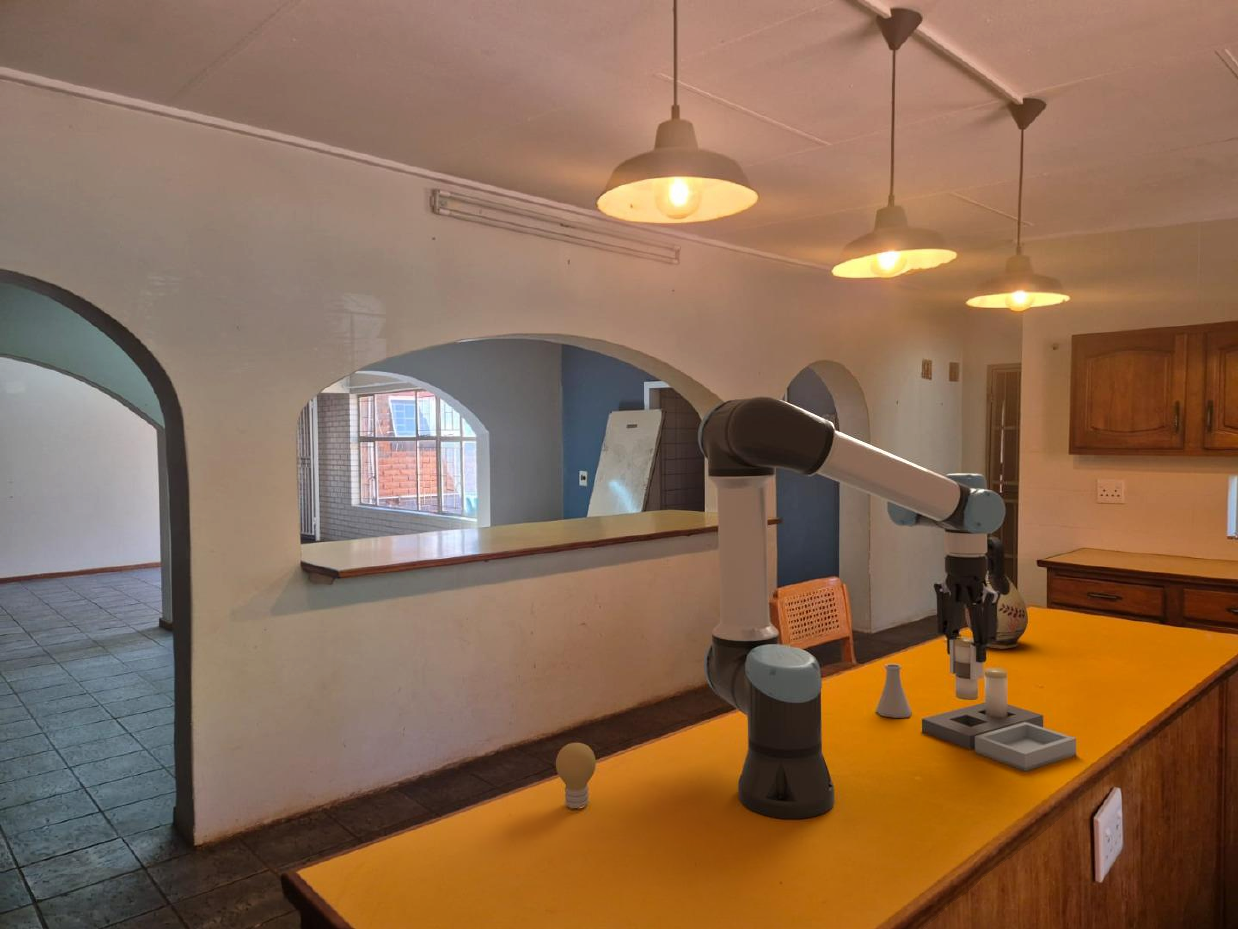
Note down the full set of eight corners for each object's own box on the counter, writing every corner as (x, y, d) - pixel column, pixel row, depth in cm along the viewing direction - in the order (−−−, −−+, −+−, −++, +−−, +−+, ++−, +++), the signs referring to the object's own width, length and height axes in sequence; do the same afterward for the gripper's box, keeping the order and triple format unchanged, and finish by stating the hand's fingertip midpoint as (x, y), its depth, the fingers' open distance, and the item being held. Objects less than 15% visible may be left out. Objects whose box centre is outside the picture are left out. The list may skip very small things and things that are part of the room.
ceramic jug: (958, 638, 231) (957, 532, 230) (1016, 638, 228) (1015, 531, 228) (976, 653, 214) (974, 539, 213) (1039, 654, 212) (1037, 539, 211)
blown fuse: (968, 701, 154) (967, 643, 154) (950, 695, 158) (950, 639, 157) (982, 698, 156) (982, 640, 156) (964, 692, 160) (964, 636, 159)
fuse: (998, 730, 158) (997, 674, 158) (980, 724, 162) (979, 669, 161) (1012, 727, 160) (1011, 671, 160) (994, 721, 164) (993, 666, 163)
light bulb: (559, 797, 134) (557, 737, 133) (598, 797, 134) (596, 736, 133) (554, 815, 127) (553, 752, 127) (595, 815, 127) (594, 751, 127)
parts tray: (1025, 771, 139) (1024, 754, 139) (975, 752, 148) (974, 736, 148) (1076, 755, 145) (1076, 738, 145) (1025, 737, 154) (1025, 722, 154)
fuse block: (969, 749, 149) (969, 736, 149) (922, 731, 159) (921, 718, 159) (1043, 728, 159) (1043, 715, 159) (994, 712, 169) (993, 700, 169)
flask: (914, 720, 166) (913, 671, 165) (877, 718, 167) (876, 670, 167) (909, 708, 173) (908, 661, 172) (873, 707, 174) (873, 660, 174)
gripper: (1018, 557, 150) (1019, 683, 151) (943, 548, 166) (943, 662, 166) (991, 560, 147) (992, 690, 147) (916, 550, 162) (917, 667, 163)
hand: (966, 675), depth 157 cm, fingers closed on blown fuse, 4 cm apart
